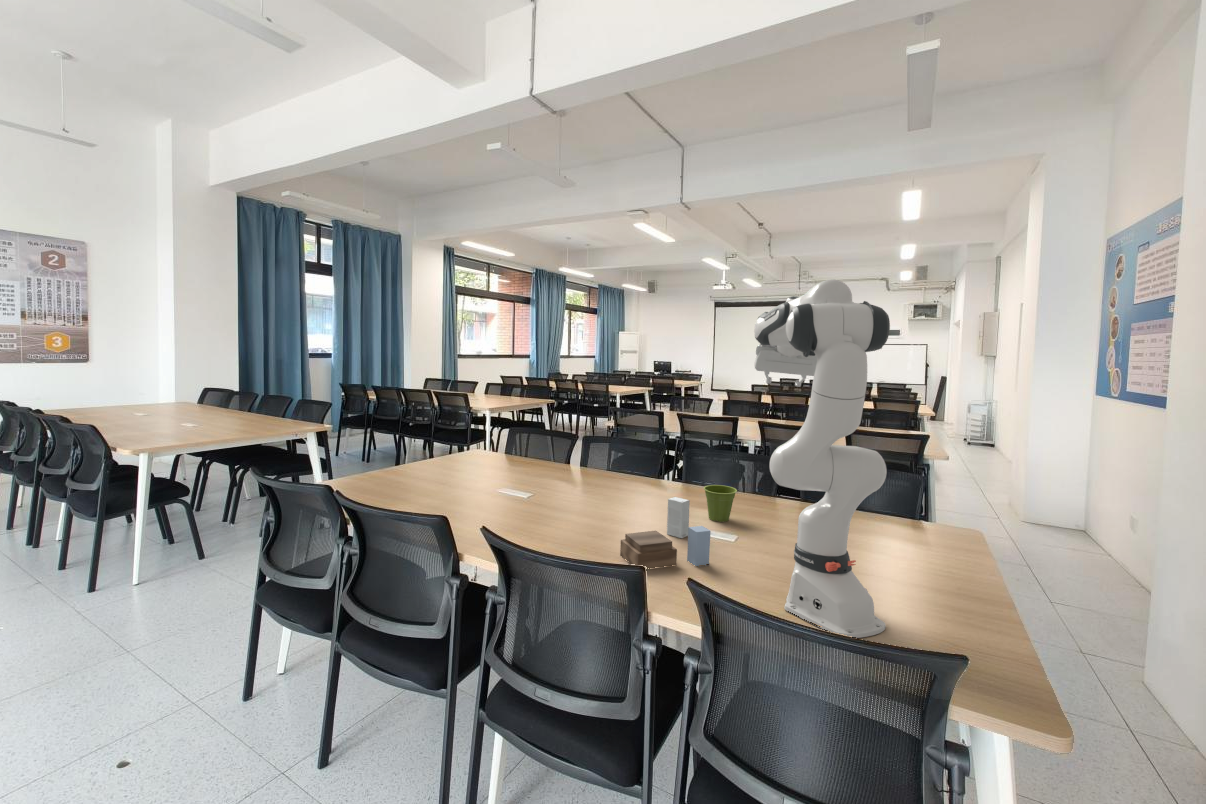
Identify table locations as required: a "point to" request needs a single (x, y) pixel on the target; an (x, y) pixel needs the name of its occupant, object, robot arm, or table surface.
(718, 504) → the plant pot
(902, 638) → the table surface
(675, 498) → the skincare box
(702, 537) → the slate block
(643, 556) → the walnut block
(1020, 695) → the table surface
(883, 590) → the table surface
